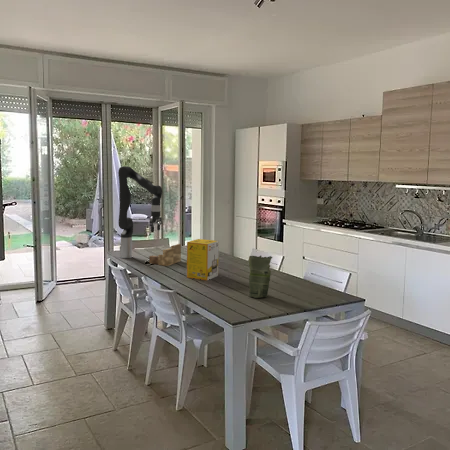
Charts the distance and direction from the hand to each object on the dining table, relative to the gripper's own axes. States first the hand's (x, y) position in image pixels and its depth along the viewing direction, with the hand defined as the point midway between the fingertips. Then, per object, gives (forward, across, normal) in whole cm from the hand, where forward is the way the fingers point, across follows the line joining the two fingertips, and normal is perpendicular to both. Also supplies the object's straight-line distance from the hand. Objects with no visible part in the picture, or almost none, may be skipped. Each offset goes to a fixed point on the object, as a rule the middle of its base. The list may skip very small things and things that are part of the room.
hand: (155, 230), depth 371 cm
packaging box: (+23, +29, +59) cm, 70 cm away
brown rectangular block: (+24, +9, +8) cm, 27 cm away
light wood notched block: (+24, +2, +16) cm, 29 cm away
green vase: (+22, +56, +112) cm, 127 cm away
